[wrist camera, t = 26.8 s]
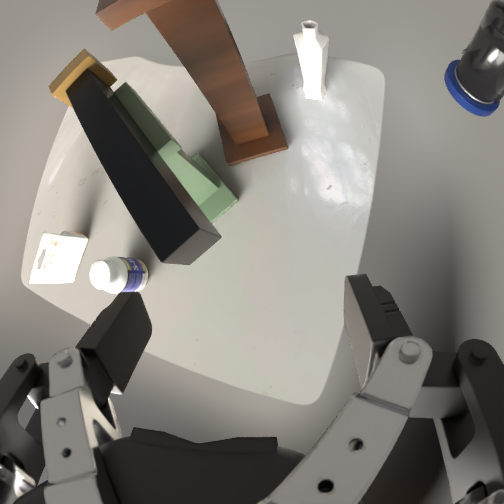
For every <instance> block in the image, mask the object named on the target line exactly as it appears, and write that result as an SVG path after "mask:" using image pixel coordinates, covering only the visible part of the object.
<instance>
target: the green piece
mask: <svg viewBox="0 0 504 504" xmlns="http://www.w3.org/2000/svg"><path fill="white" fill-rule="evenodd" d="M114 93H115V95H116V96H117V97H118V99H119V100H120V101H121V103H122V104H123V106H124V107H125V108H126V110H127V111H128V112H129V114H130V115H131V116H132V118H133V119H134V121H135V122H136V123H137V125H138V126H139V127H140V129H141V130H142V131H143V133H144V134H145V135H146V137H147V138H148V140H149V141H150V142H151V144H152V145H153V146H154V148H155V149H156V150H157V152H158V153H159V154H160V156H161V157H162V158H163V160H164V161H165V162H166V164H167V165H168V166H169V168H170V169H171V170H172V172H173V173H174V174H175V176H176V177H177V178H178V180H179V181H180V182H181V184H182V185H183V186H184V188H185V189H186V190H187V192H188V193H189V194H190V196H191V197H192V198H193V200H194V201H195V202H196V204H197V205H198V206H199V208H200V209H201V210H202V212H203V213H204V214H205V216H206V217H207V218H208V220H209V221H210V222H211V223H213V222H214V221H215V220H217V219H218V218H219V217H220V216H221V215H222V214H224V213H225V212H226V211H227V210H228V209H229V208H231V207H232V206H233V205H234V204H235V203H237V202H238V199H237V198H236V197H235V196H234V194H233V193H232V192H231V191H230V189H229V188H228V187H227V186H226V185H225V183H224V182H223V181H222V180H221V179H220V177H219V176H218V175H217V174H216V173H215V171H214V170H213V169H212V168H211V167H210V165H209V164H208V163H207V162H206V161H205V160H204V158H203V157H202V156H201V155H200V154H199V153H197V154H196V155H195V156H194V157H193V158H190V157H189V156H188V155H187V154H186V153H185V152H184V151H182V150H181V149H182V147H181V146H180V145H179V144H178V142H177V141H176V140H175V139H174V138H173V136H172V135H171V134H170V133H169V131H168V130H167V129H166V128H165V127H164V125H163V124H162V123H161V122H160V120H159V119H158V118H157V117H156V116H155V114H154V113H153V112H152V111H151V110H150V108H149V107H148V106H147V105H146V104H145V102H144V101H143V100H142V99H141V97H140V96H139V95H138V94H137V93H136V91H135V90H134V89H132V88H131V87H130V86H129V85H128V84H127V83H126V82H125V83H124V84H123V85H121V86H120V87H119V88H118V89H117V90H116V91H115V92H114Z"/></svg>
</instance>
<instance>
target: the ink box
mask: <svg viewBox="0 0 504 504" xmlns="http://www.w3.org/2000/svg"><path fill="white" fill-rule="evenodd" d="M87 242H88V238H87V237H86V236H84V235H83V234H81V233H78V232H72V231H64V232H62V233H61V235H58V234H53V233H48V232H43V235H42V238H41V241H40V244H39V248H38V251H37V255H36V258H35V262H34V265H33V269H32V273H31V276H30V280H29V283H30V284H34V283H35V284H37V283H46V284H50V283H69V282H73V281H74V278H75V275H76V272H77V269H78V266H79V263H80V261H81V258H82V255H83V252H84V250H85V247H86V244H87ZM43 249H46V253H45V256H44V259H43V262H42V266H41V268H40V269H38V268H37V267H38V263H39V262H38V257H39V256H40V255H41V253H42V250H43Z"/></svg>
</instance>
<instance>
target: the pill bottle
mask: <svg viewBox="0 0 504 504" xmlns="http://www.w3.org/2000/svg"><path fill="white" fill-rule="evenodd" d="M90 279H91V282H92V284H93V285H94V286H95V287H96V288H97V289H105V290H106V291H107V292H109V293H120V292H132V291H140V290H142V289H143V288H144V287H145V285H146V283H147V280H148V271H147V268H146V266H145V264H144V263H143V262H142V261H140V260H138V259H133V258H124V257H108V258H106V259H105V260H98V261H96V262H94V264H93V265H92V267H91V270H90Z"/></svg>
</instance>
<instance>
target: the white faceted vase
mask: <svg viewBox="0 0 504 504" xmlns="http://www.w3.org/2000/svg"><path fill="white" fill-rule="evenodd" d="M301 25H302V30H303V31H301V32H298V33H296V34H294V35H293V37H294V41H295V45H296V49H297V54H298V58H299V62H300V66H301V71H302V75H303V80H304V84H303V87H302V88H303V91H304V95H305V98H308V99H318V100H321V99H322V98H323V96H324V94H325V92H326V90H327V89H326V86H325V84H324V83H325V75H326V66H327V57H328V47H329V36H327V35H325V34H323V33H321V32H319V31H318V25H319V23H317V22H315V21H313V20H306V21H303V22H301Z"/></svg>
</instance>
